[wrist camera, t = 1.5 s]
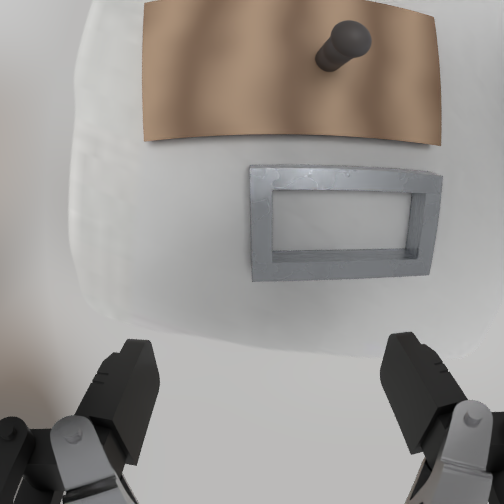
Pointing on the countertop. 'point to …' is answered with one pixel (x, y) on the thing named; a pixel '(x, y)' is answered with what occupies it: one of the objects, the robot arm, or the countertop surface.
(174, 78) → the board
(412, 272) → the grey picture frame
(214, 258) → the countertop surface
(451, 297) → the countertop surface
